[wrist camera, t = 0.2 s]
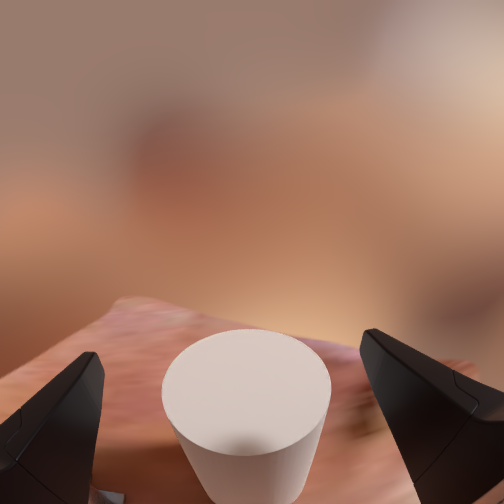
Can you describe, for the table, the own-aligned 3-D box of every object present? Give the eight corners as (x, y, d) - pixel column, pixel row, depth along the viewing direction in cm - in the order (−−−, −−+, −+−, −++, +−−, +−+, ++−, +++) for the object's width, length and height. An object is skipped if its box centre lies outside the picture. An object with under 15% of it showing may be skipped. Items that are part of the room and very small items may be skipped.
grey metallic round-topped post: (122, 532, 13) (49, 486, 8) (81, 523, 12) (1, 469, 8) (125, 494, 16) (63, 433, 12) (86, 488, 16) (18, 423, 11)
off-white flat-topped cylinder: (326, 466, 19) (361, 372, 14) (255, 535, 14) (247, 491, 8) (251, 417, 24) (245, 311, 19) (180, 470, 19) (132, 379, 14)
